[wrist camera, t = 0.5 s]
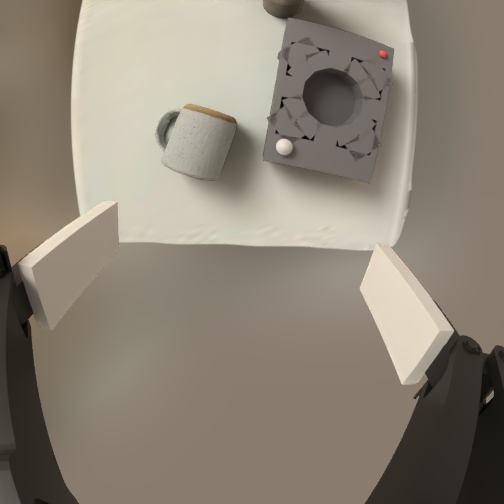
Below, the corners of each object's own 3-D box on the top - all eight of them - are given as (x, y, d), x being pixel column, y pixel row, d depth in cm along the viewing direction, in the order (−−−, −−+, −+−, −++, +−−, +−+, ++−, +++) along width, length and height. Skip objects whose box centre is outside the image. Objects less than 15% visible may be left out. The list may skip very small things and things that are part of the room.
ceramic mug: (243, 119, 33) (236, 117, 27) (222, 175, 37) (212, 187, 30) (169, 98, 32) (147, 93, 25) (153, 153, 36) (128, 160, 29)
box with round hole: (281, 32, 28) (285, 14, 22) (378, 58, 28) (399, 48, 22) (260, 154, 35) (259, 160, 29) (357, 175, 36) (374, 185, 30)
